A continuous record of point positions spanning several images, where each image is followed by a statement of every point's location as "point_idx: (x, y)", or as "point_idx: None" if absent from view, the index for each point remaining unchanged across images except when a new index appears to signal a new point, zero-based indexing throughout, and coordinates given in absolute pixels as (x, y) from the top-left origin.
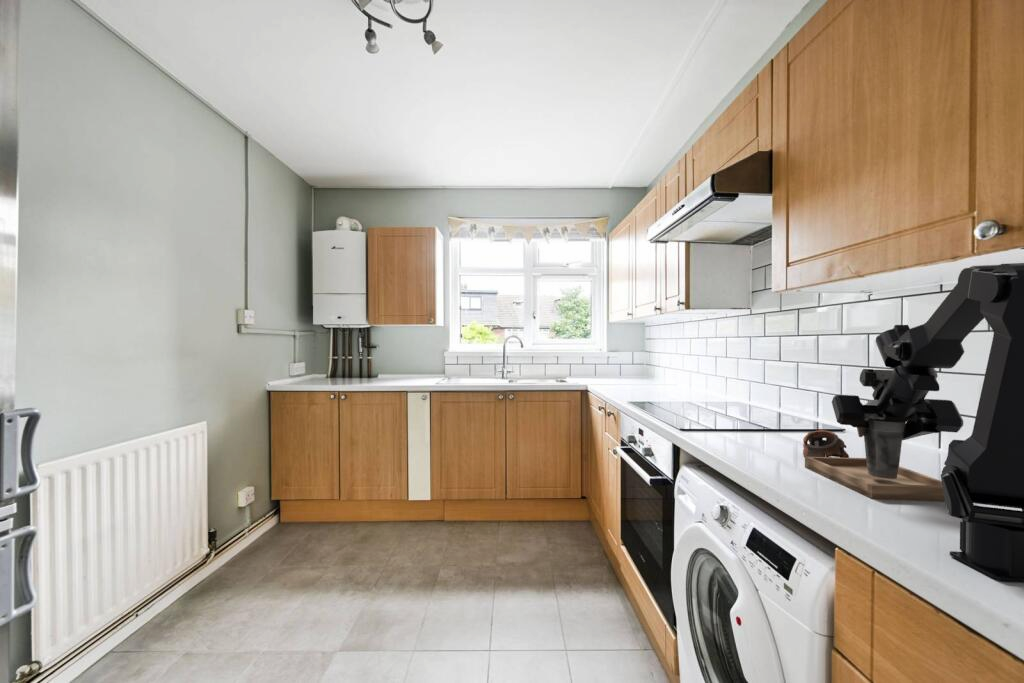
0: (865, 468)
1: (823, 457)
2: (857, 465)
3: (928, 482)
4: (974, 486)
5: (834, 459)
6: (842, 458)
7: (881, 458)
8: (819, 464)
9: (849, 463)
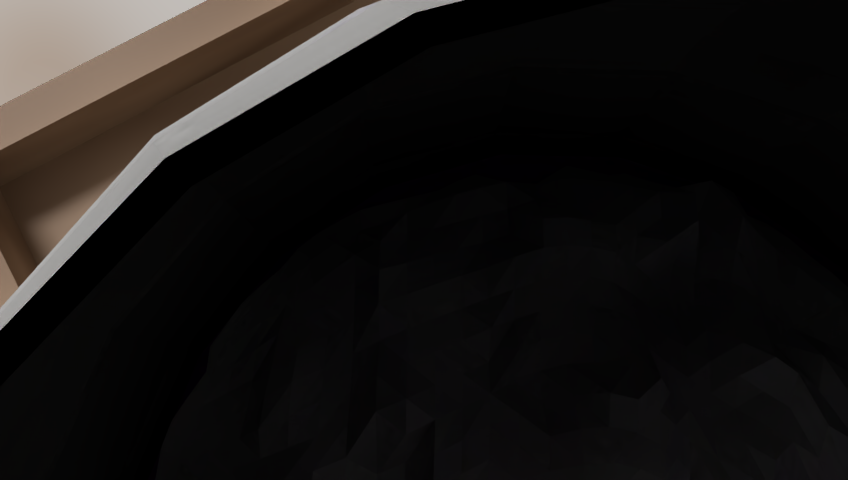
0: None
1: (66, 92)
2: (348, 3)
3: None
4: None
5: (160, 71)
6: (223, 28)
7: None
8: None
9: (287, 26)
